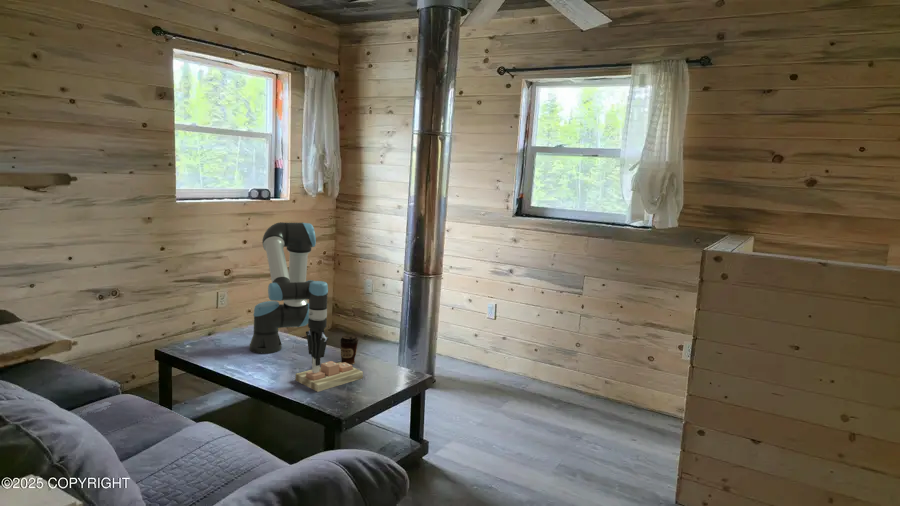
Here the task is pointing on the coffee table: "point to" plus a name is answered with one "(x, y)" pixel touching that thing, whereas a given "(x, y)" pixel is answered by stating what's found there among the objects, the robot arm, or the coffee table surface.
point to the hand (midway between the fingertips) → (315, 371)
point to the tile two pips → (330, 368)
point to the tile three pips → (345, 367)
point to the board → (329, 379)
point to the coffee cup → (348, 349)
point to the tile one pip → (315, 375)
